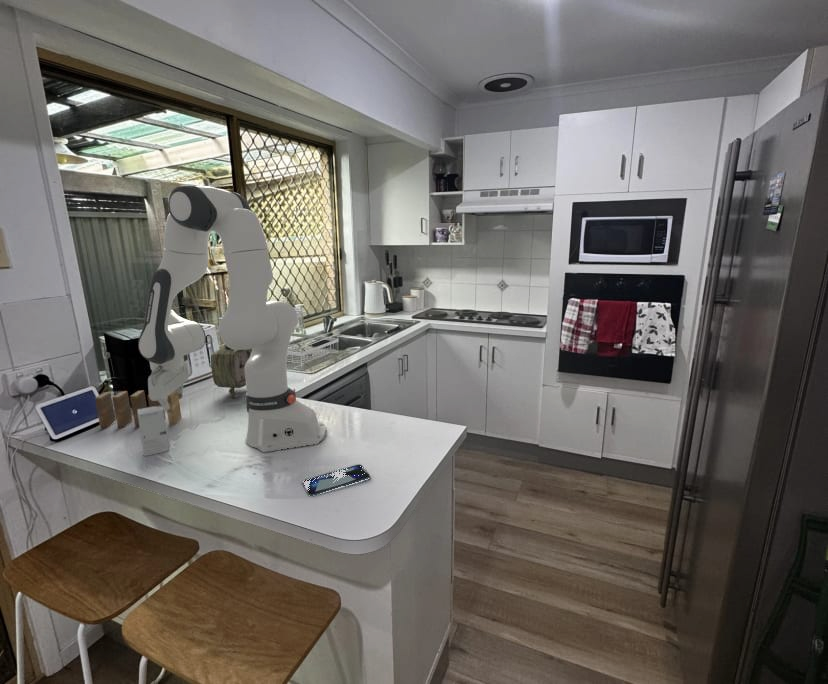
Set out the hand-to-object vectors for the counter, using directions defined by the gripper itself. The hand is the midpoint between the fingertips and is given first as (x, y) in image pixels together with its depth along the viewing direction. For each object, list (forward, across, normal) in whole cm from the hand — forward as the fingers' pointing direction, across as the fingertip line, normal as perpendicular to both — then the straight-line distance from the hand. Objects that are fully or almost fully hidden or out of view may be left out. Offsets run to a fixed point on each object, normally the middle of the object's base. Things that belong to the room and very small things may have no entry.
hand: (173, 403), depth 135 cm
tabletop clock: (+6, +24, -12) cm, 28 cm away
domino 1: (+6, 0, +20) cm, 21 cm away
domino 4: (+6, 0, +5) cm, 8 cm away
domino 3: (+6, 0, +10) cm, 12 cm away
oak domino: (+6, 0, 0) cm, 6 cm away
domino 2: (+6, 0, +15) cm, 16 cm away
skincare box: (+6, -20, -3) cm, 21 cm away
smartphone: (+7, -42, -53) cm, 68 cm away
